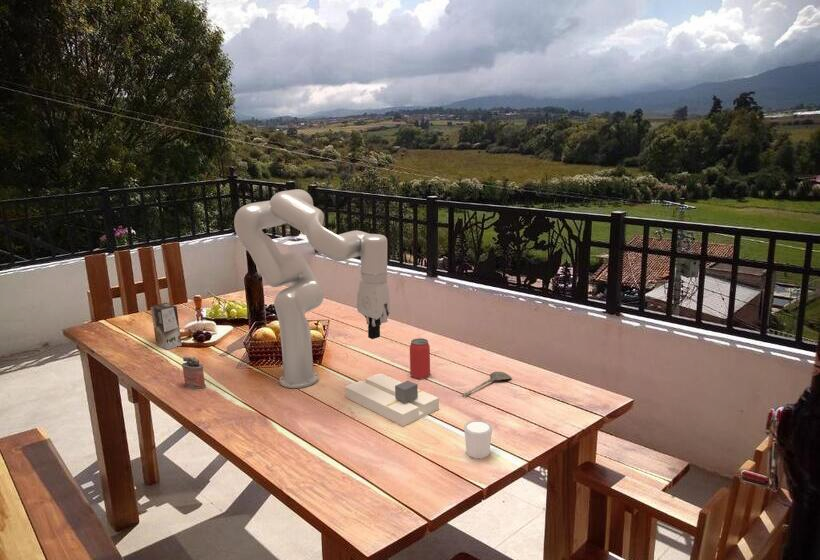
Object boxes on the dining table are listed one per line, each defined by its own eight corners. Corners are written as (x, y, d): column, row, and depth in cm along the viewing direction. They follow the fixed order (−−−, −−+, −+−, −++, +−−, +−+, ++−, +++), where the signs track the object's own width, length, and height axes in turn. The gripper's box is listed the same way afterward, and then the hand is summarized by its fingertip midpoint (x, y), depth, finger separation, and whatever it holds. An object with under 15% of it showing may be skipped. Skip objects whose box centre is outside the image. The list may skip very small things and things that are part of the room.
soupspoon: (516, 381, 182) (499, 376, 187) (515, 371, 182) (499, 366, 187) (471, 401, 168) (455, 395, 172) (471, 390, 167) (455, 385, 172)
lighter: (208, 386, 182) (204, 357, 180) (200, 390, 179) (196, 361, 177) (189, 382, 186) (186, 354, 183) (181, 386, 183) (178, 357, 180)
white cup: (461, 446, 143) (461, 420, 141) (488, 444, 143) (488, 419, 141) (466, 461, 136) (466, 434, 134) (494, 459, 136) (495, 432, 135)
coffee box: (182, 345, 221) (177, 305, 217) (166, 350, 216) (160, 309, 212) (171, 340, 226) (166, 302, 223) (155, 345, 222) (149, 305, 218)
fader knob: (395, 406, 162) (395, 385, 160) (408, 401, 165) (407, 380, 163) (405, 411, 159) (404, 389, 157) (418, 405, 162) (417, 384, 160)
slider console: (345, 397, 172) (344, 386, 171) (380, 383, 181) (380, 372, 180) (403, 426, 153) (402, 414, 152) (438, 409, 163) (438, 397, 162)
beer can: (428, 380, 182) (427, 345, 179) (408, 379, 184) (407, 344, 181) (431, 372, 189) (431, 338, 186) (412, 371, 190) (411, 337, 187)
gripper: (347, 274, 165) (348, 333, 169) (380, 285, 154) (380, 348, 159) (367, 270, 170) (368, 328, 174) (401, 280, 159) (400, 341, 164)
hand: (374, 337), depth 167 cm, fingers closed
